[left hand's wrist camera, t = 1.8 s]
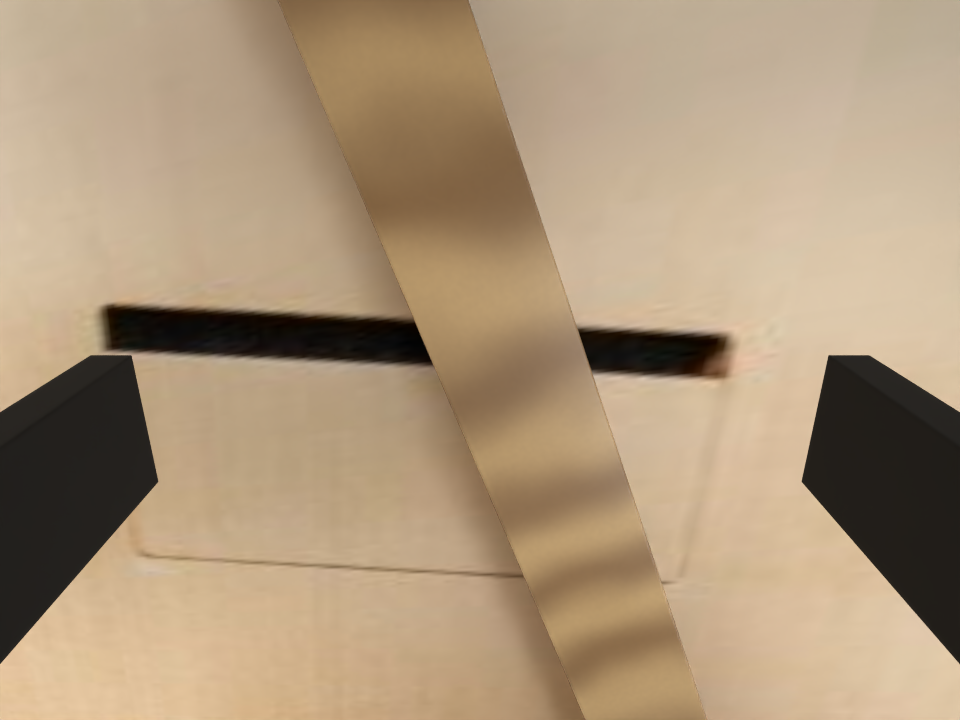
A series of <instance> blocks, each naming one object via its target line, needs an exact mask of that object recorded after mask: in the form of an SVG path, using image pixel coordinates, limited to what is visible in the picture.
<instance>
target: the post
mask: <svg viewBox="0 0 960 720" xmlns="http://www.w3.org/2000/svg"><path fill="white" fill-rule="evenodd" d="M278 3H279V5H280V7H281V10H282V12H283V14H284V17H285V19H286V21H287V24H288V26H289V28H290V31H291V33H292V35H293V38H294V40H295V42H296V45H297V47H298V49H299V52H300V54H301V56H302V59H303V61H304V63H305V66H306V68H307V70H308V73H309V75H310V77H311V80H312V82H313V84H314V87H315V89H316V91H317V94H318V96H319V98H320V101H321V103H322V105H323V108H324V110H325V112H326V115H327V117H328V119H329V122H330V124H331V127H332V129H333V131H334V134H335V136H336V138H337V141H338V143H339V145H340V148H341V150H342V152H343V155H344V157H345V159H346V162H347V164H348V166H349V169H350V171H351V173H352V176H353V178H354V180H355V183H356V185H357V187H358V190H359V192H360V194H361V197H362V199H363V201H364V204H365V206H366V208H367V211H368V213H369V215H370V218H371V220H372V222H373V225H374V227H375V229H376V232H377V234H378V236H379V239H380V241H381V243H382V246H383V248H384V250H385V253H386V255H387V257H388V260H389V262H390V264H391V267H392V269H393V272H394V274H395V276H396V279H397V281H398V283H399V286H400V288H401V290H402V293H403V295H404V297H405V300H406V302H407V304H408V307H409V309H410V311H411V314H412V316H413V318H414V321H415V323H416V325H417V328H418V330H419V332H420V335H421V337H422V339H423V342H424V344H425V346H426V349H427V351H428V353H429V356H430V358H431V360H432V363H433V365H434V367H435V370H436V372H437V374H438V377H439V379H440V381H441V384H442V386H443V388H444V391H445V393H446V395H447V398H448V400H449V402H450V405H451V407H452V409H453V412H454V414H455V417H456V419H457V421H458V424H459V426H460V428H461V431H462V433H463V435H464V438H465V440H466V442H467V445H468V447H469V449H470V452H471V454H472V456H473V459H474V461H475V463H476V466H477V468H478V470H479V473H480V475H481V477H482V480H483V482H484V484H485V487H486V489H487V491H488V494H489V496H490V498H491V501H492V503H493V505H494V508H495V510H496V512H497V515H498V517H499V519H500V522H501V524H502V526H503V529H504V531H505V533H506V536H507V538H508V540H509V543H510V545H511V547H512V550H513V552H514V554H515V557H516V559H517V561H518V564H519V566H520V569H521V571H522V573H523V576H524V578H525V580H526V583H527V585H528V587H529V590H530V592H531V594H532V597H533V599H534V601H535V604H536V606H537V608H538V611H539V613H540V615H541V618H542V620H543V622H544V625H545V627H546V629H547V632H548V634H549V636H550V639H551V641H552V643H553V646H554V648H555V650H556V653H557V655H558V657H559V660H560V662H561V664H562V667H563V669H564V671H565V674H566V676H567V678H568V681H569V683H570V685H571V688H572V690H573V692H574V695H575V697H576V699H577V702H578V704H579V706H580V709H581V711H582V714H583V716H584V718H585V720H707V718H706V715H705V712H704V709H703V706H702V703H701V700H700V697H699V694H698V691H697V688H696V685H695V682H694V679H693V676H692V673H691V670H690V667H689V664H688V661H687V658H686V655H685V652H684V649H683V646H682V643H681V640H680V637H679V634H678V631H677V628H676V625H675V622H674V619H673V616H672V613H671V610H670V607H669V604H668V601H667V598H666V595H665V592H664V589H663V586H662V583H661V580H660V577H659V574H658V571H657V568H656V565H655V562H654V559H653V556H652V553H651V550H650V547H649V544H648V540H647V537H646V534H645V531H644V528H643V525H642V522H641V519H640V516H639V513H638V510H637V507H636V504H635V501H634V498H633V495H632V492H631V489H630V486H629V483H628V480H627V477H626V474H625V471H624V468H623V465H622V462H621V459H620V456H619V453H618V450H617V447H616V444H615V441H614V438H613V435H612V432H611V429H610V426H609V423H608V420H607V417H606V414H605V411H604V408H603V405H602V402H601V399H600V396H599V393H598V390H597V387H596V384H595V381H594V378H593V375H592V372H591V369H590V366H589V363H588V360H587V357H586V354H585V351H584V348H583V345H582V341H581V338H580V335H579V332H578V329H577V326H576V323H575V320H574V317H573V314H572V311H571V308H570V305H569V302H568V299H567V296H566V293H565V290H564V287H563V284H562V281H561V278H560V275H559V272H558V269H557V266H556V263H555V260H554V257H553V254H552V251H551V248H550V245H549V242H548V239H547V236H546V233H545V230H544V227H543V224H542V221H541V218H540V215H539V212H538V209H537V206H536V203H535V200H534V197H533V194H532V191H531V188H530V185H529V182H528V179H527V176H526V173H525V170H524V167H523V164H522V161H521V158H520V155H519V152H518V149H517V146H516V142H515V139H514V136H513V133H512V130H511V127H510V124H509V121H508V118H507V115H506V112H505V109H504V106H503V103H502V100H501V97H500V94H499V91H498V88H497V85H496V82H495V79H494V76H493V73H492V70H491V67H490V64H489V61H488V58H487V55H486V52H485V49H484V46H483V43H482V40H481V37H480V34H479V31H478V28H477V25H476V22H475V19H474V16H473V13H472V10H471V7H470V4H469V1H468V0H278Z"/></svg>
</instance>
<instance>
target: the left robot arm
mask: <svg viewBox="0 0 960 720" xmlns="http://www.w3.org/2000/svg"><path fill="white" fill-rule="evenodd" d="M157 483H158V478H157V473H156V468H155V464H154V459H153V454H152V450H151V445H150V440H149V436H148V431H147V426H146V422H145V417H144V412H143V407H142V403H141V398H140V393H139V389H138V384H137V379H136V375H135V370H134V365H133V361H132V356H131V355H91V356H89V357H87V358H86V359H84V360H83V361H81V362H80V363H78V364H76V365H75V366H73V367H72V368H70V369H68V370H67V371H65V372H64V373H62V374H60V375H59V376H57V377H56V378H54V379H52V380H51V381H49V382H48V383H46V384H44V385H43V386H41V387H40V388H38V389H37V390H35V391H33V392H32V393H30V394H29V395H27V396H25V397H24V398H22V399H21V400H19V401H17V402H16V403H14V404H13V405H11V406H9V407H8V408H6V409H5V410H3V411H2V412H0V664H1V662H2V661H3V660H4V659H5V658H6V657H7V656H8V654H9V653H10V652H11V651H12V650H13V649H14V647H15V646H16V645H17V644H18V643H19V642H20V641H21V639H22V638H23V637H24V636H25V635H26V634H27V632H28V631H29V630H30V629H31V628H32V627H33V626H34V624H35V623H36V622H37V621H38V620H39V619H40V617H41V616H42V615H43V614H44V613H45V612H46V611H47V609H48V608H49V607H50V606H51V605H52V604H53V602H54V601H55V600H56V599H57V598H58V597H59V596H60V594H61V593H62V592H63V591H64V590H65V589H66V588H67V586H68V585H69V584H70V583H71V582H72V581H73V579H74V578H75V577H76V576H77V575H78V574H79V573H80V571H81V570H82V569H83V568H84V567H85V566H86V564H87V563H88V562H89V561H90V560H91V559H92V558H93V556H94V555H95V554H96V553H97V552H98V551H99V549H100V548H101V547H102V546H103V545H104V544H105V543H106V541H107V540H108V539H109V538H110V537H111V536H112V534H113V533H114V532H115V531H116V530H117V529H118V528H119V526H120V525H121V524H122V523H123V522H124V521H125V520H126V518H127V517H128V516H129V515H130V514H131V513H132V511H133V510H134V509H135V508H136V507H137V506H138V505H139V503H140V502H141V501H142V500H143V499H144V498H145V496H146V495H147V494H148V493H149V492H150V491H151V490H152V488H153V487H154V486H155V485H156V484H157ZM802 483H803V484H804V485H805V486H806V487H807V488H808V490H809V491H810V492H811V493H812V494H813V495H814V496H815V498H816V499H817V500H818V501H819V502H820V503H821V505H822V506H823V507H824V508H825V509H826V510H827V511H828V513H829V514H830V515H831V516H832V517H833V518H834V520H835V521H836V522H837V523H838V524H839V525H840V526H841V528H842V529H843V530H844V531H845V532H846V533H847V534H848V536H849V537H850V538H851V539H852V540H853V541H854V543H855V544H856V545H857V546H858V547H859V548H860V549H861V551H862V552H863V553H864V554H865V555H866V556H867V558H868V559H869V560H870V561H871V562H872V563H873V564H874V566H875V567H876V568H877V569H878V570H879V571H880V573H881V574H882V575H883V576H884V577H885V578H886V579H887V581H888V582H889V583H890V584H891V585H892V586H893V588H894V589H895V590H896V591H897V592H898V593H899V594H900V596H901V597H902V598H903V599H904V600H905V601H906V603H907V604H908V605H909V606H910V607H911V608H912V609H913V611H914V612H915V613H916V614H917V615H918V616H919V617H920V619H921V620H922V621H923V622H924V623H925V624H926V626H927V627H928V628H929V629H930V630H931V631H932V632H933V634H934V635H935V636H936V637H937V638H938V639H939V641H940V642H941V643H942V644H943V645H944V646H945V647H946V649H947V650H948V651H949V652H950V653H951V654H952V656H953V657H954V658H955V659H956V660H957V661H958V662H959V664H960V412H958V411H957V410H955V409H954V408H952V407H951V406H949V405H947V404H946V403H944V402H943V401H941V400H939V399H938V398H936V397H935V396H933V395H931V394H930V393H928V392H927V391H925V390H923V389H922V388H920V387H919V386H917V385H916V384H914V383H912V382H911V381H909V380H908V379H906V378H904V377H903V376H901V375H900V374H898V373H896V372H895V371H893V370H892V369H890V368H888V367H887V366H885V365H884V364H882V363H880V362H879V361H877V360H876V359H874V358H873V357H871V356H869V355H829V356H828V361H827V365H826V370H825V375H824V379H823V384H822V389H821V393H820V398H819V403H818V407H817V412H816V417H815V422H814V426H813V431H812V436H811V440H810V445H809V450H808V454H807V459H806V464H805V468H804V473H803V478H802Z"/></svg>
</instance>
